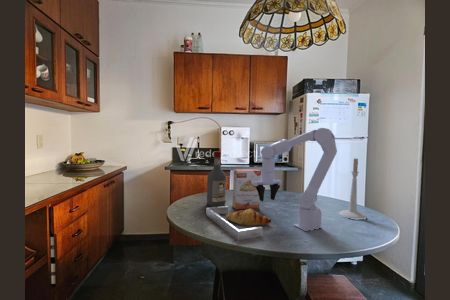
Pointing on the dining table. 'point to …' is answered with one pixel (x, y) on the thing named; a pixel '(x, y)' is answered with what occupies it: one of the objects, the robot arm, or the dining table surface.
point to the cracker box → (245, 188)
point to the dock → (232, 230)
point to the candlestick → (353, 196)
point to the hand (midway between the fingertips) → (267, 200)
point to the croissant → (248, 218)
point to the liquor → (216, 184)
